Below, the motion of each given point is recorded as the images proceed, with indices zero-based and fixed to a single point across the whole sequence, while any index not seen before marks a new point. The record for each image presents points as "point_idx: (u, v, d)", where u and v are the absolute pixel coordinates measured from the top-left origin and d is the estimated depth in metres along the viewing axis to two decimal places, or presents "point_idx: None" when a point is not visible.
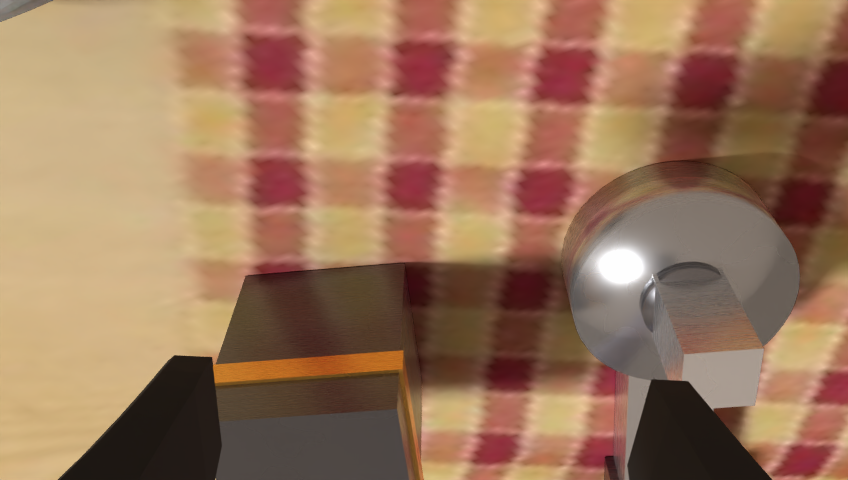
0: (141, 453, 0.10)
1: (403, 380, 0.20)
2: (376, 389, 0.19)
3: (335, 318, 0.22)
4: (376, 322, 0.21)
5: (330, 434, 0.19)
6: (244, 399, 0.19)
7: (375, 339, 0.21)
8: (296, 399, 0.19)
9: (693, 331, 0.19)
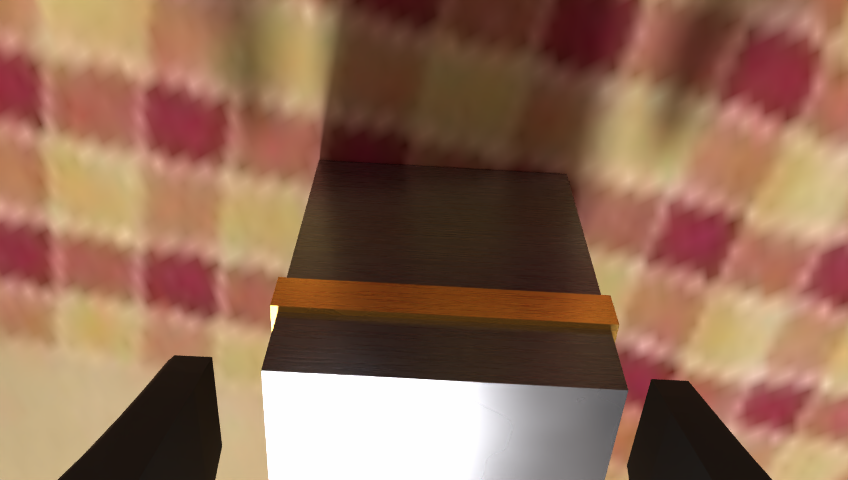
0: (141, 453, 0.10)
1: (297, 307, 0.11)
2: None
3: None
4: None
5: (315, 462, 0.11)
6: None
7: None
8: None
9: None
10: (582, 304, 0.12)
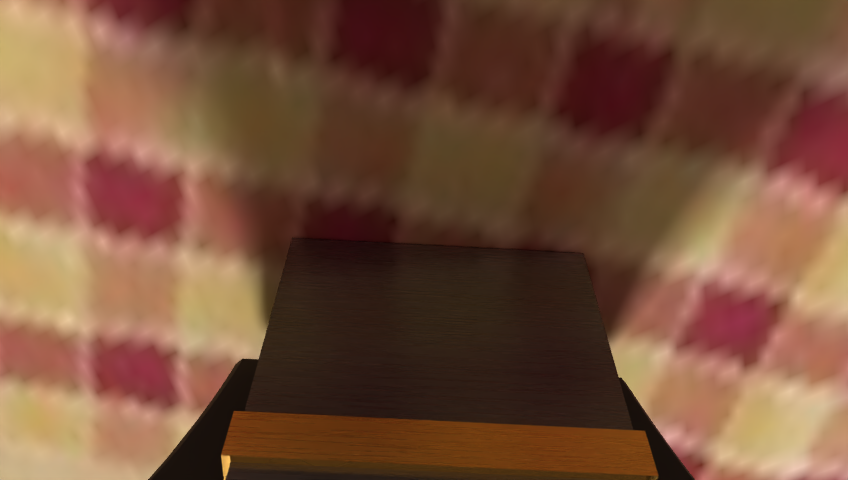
0: None
1: (255, 457, 0.09)
2: None
3: None
4: None
5: None
6: None
7: None
8: None
9: None
10: (611, 444, 0.10)
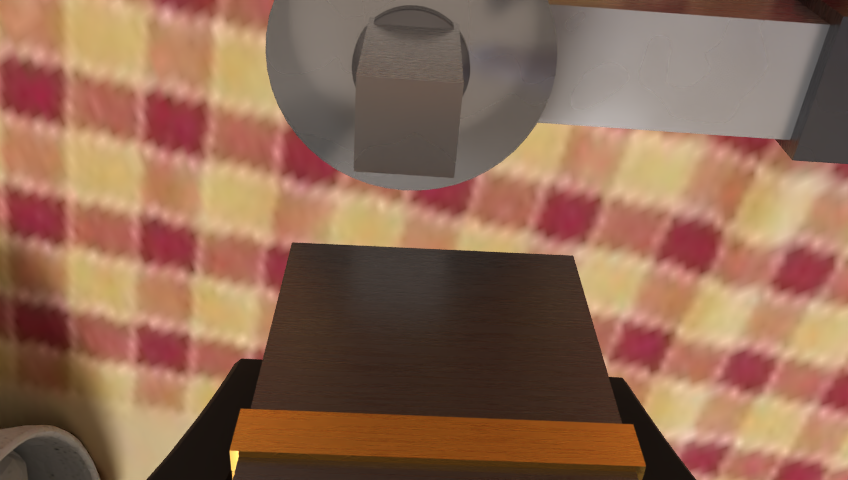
0: (223, 457, 0.10)
1: (262, 452, 0.10)
2: None
3: None
4: None
5: None
6: None
7: None
8: None
9: None
10: (601, 437, 0.10)
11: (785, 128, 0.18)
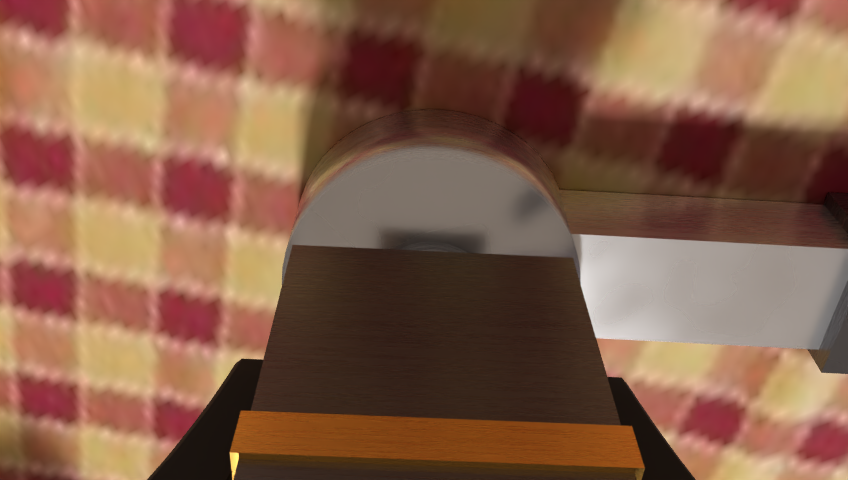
0: (224, 457, 0.10)
1: (262, 454, 0.10)
2: None
3: None
4: None
5: None
6: None
7: None
8: None
9: None
10: (599, 439, 0.10)
11: (813, 339, 0.17)
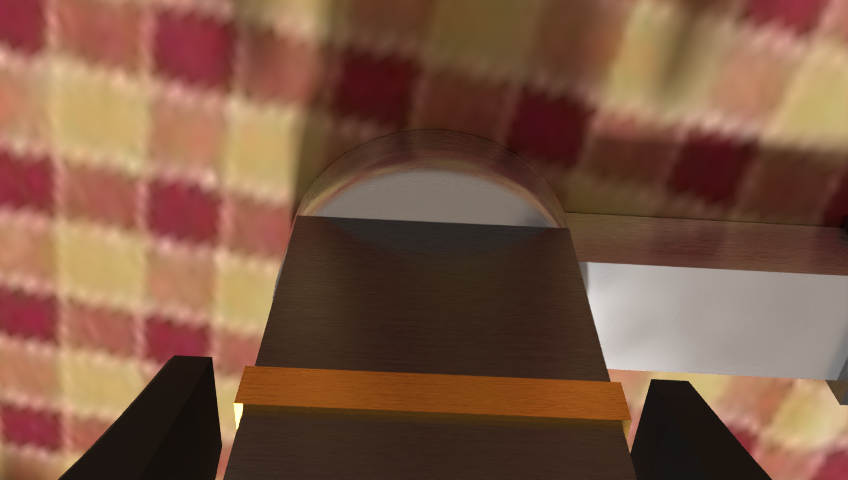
0: (141, 453, 0.10)
1: (265, 405, 0.10)
2: None
3: None
4: None
5: None
6: None
7: None
8: None
9: None
10: (589, 394, 0.10)
11: (832, 370, 0.16)
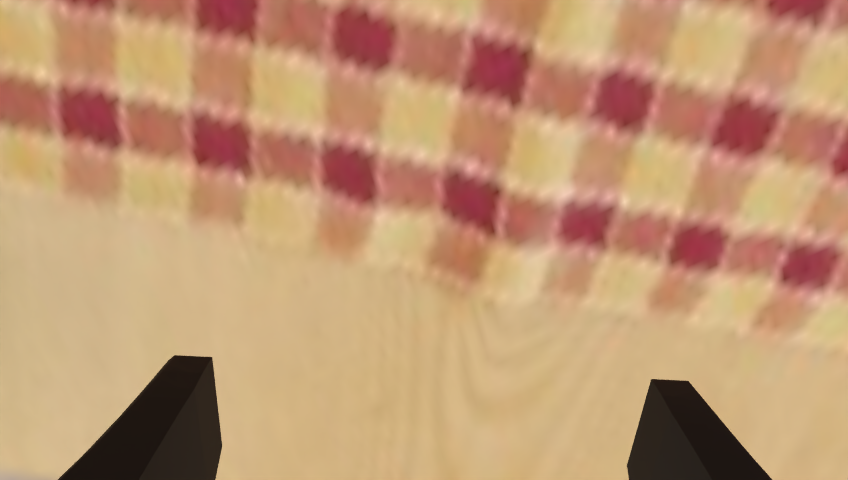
0: (141, 453, 0.10)
1: None
2: None
3: None
4: None
5: None
6: None
7: None
8: None
9: None
10: None
11: None
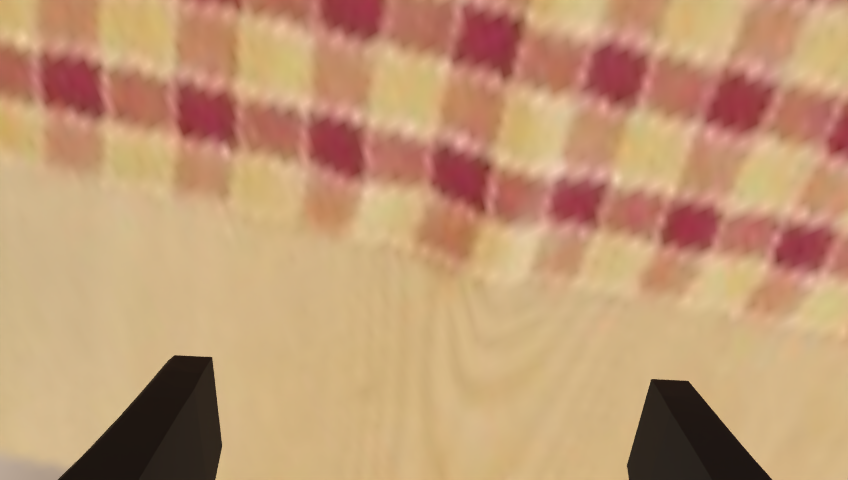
0: (141, 453, 0.10)
1: None
2: None
3: None
4: None
5: None
6: None
7: None
8: None
9: None
10: None
11: None
